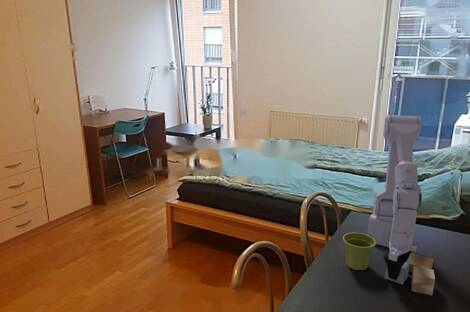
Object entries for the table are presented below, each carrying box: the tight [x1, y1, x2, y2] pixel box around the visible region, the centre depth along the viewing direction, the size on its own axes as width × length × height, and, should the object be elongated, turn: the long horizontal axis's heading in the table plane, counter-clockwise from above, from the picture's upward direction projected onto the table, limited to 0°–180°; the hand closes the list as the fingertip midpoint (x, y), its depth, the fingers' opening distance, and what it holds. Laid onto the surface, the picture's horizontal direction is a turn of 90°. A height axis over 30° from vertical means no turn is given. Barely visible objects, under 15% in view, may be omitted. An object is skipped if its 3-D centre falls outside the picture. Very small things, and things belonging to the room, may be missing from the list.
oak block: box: [407, 252, 434, 273], centre depth 113 cm, size 7×7×3 cm
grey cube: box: [384, 261, 410, 285], centre depth 108 cm, size 5×5×5 cm
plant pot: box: [342, 232, 377, 271], centre depth 113 cm, size 9×9×9 cm
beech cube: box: [411, 266, 436, 296], centre depth 103 cm, size 5×5×5 cm
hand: (396, 272), depth 108 cm, fingers open, 7 cm apart
